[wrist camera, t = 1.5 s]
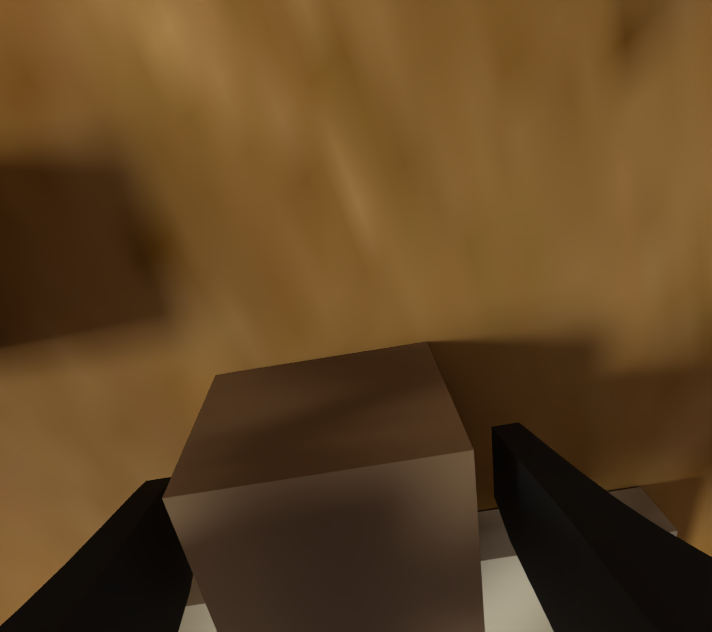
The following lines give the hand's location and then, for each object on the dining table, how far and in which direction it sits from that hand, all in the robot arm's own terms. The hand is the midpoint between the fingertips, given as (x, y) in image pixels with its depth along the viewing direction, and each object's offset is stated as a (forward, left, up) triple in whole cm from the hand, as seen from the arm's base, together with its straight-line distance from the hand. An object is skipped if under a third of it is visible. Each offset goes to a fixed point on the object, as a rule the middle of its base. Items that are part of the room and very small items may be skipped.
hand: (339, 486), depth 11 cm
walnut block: (0, 0, -2) cm, 2 cm away
